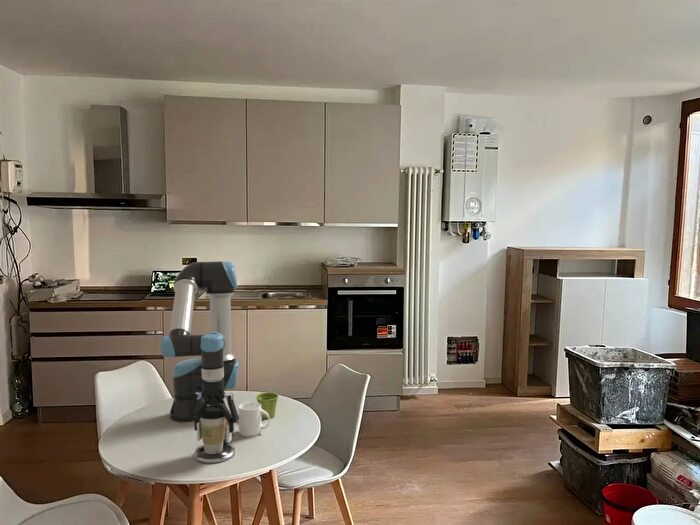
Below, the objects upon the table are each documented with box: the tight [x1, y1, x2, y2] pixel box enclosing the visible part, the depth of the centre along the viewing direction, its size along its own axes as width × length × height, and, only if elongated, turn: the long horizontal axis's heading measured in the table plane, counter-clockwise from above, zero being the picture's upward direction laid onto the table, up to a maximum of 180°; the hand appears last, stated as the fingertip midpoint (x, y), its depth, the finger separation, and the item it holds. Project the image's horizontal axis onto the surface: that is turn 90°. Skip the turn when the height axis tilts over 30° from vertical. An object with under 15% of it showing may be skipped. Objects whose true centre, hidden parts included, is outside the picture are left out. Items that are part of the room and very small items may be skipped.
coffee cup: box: [199, 405, 226, 454], centre depth 188 cm, size 10×10×15 cm
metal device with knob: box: [193, 420, 236, 465], centre depth 191 cm, size 20×14×9 cm
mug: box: [238, 401, 271, 438], centre depth 206 cm, size 9×12×11 cm
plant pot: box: [255, 392, 279, 419], centre depth 223 cm, size 9×9×9 cm
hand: (214, 440), depth 188 cm, fingers open, 10 cm apart
